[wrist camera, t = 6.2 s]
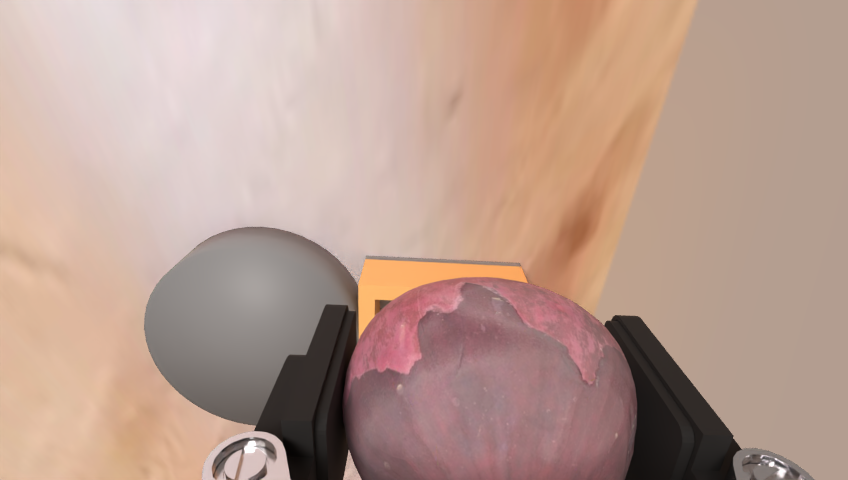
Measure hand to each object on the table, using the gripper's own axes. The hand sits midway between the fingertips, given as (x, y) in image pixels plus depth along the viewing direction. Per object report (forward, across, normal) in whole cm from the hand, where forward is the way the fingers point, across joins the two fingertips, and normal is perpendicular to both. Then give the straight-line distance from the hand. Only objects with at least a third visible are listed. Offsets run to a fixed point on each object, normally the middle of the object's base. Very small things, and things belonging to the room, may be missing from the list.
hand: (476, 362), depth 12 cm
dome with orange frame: (+19, +7, +11) cm, 23 cm away
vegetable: (+2, 0, 0) cm, 2 cm away
